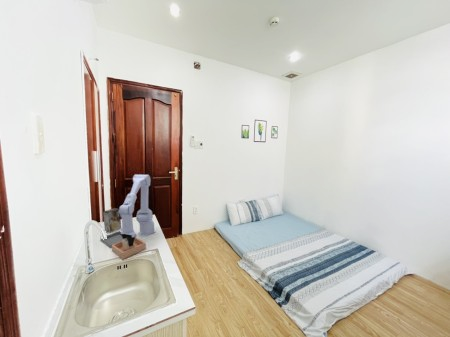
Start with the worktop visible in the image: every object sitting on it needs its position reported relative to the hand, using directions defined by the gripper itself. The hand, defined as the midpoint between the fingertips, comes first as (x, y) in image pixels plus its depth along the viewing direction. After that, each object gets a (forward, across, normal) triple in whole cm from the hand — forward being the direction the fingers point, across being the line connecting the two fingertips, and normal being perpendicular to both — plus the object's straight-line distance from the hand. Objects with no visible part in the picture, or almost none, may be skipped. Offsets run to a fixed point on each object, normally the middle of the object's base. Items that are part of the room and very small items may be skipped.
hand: (128, 244), depth 117 cm
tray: (+4, -18, 0) cm, 18 cm away
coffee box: (+4, -36, +6) cm, 37 cm away
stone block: (+1, 0, 0) cm, 1 cm away
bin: (+4, 0, 0) cm, 4 cm away
